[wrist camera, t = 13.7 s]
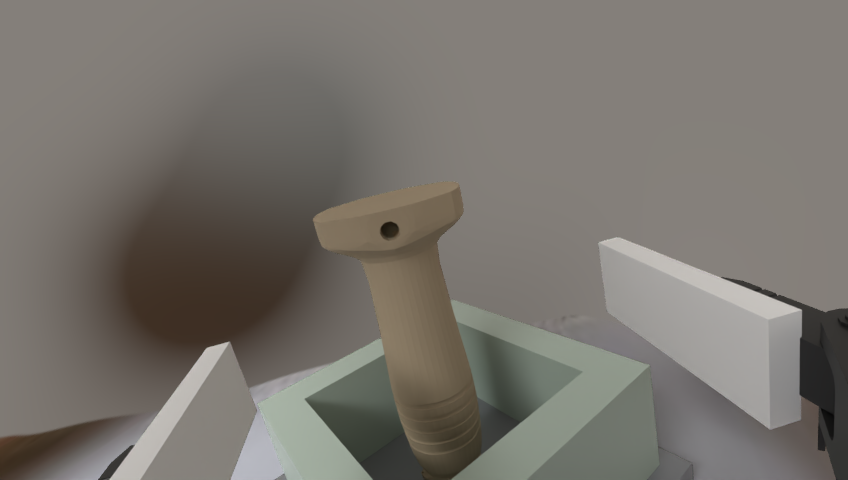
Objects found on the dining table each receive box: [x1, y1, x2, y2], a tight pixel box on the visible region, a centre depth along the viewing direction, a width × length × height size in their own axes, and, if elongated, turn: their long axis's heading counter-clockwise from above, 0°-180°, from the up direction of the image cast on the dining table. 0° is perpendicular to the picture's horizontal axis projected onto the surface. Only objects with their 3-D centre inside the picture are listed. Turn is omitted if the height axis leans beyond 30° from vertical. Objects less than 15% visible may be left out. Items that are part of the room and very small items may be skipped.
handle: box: [313, 182, 482, 480], centre depth 20 cm, size 5×6×15 cm
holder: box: [257, 300, 693, 480], centre depth 22 cm, size 16×16×6 cm
